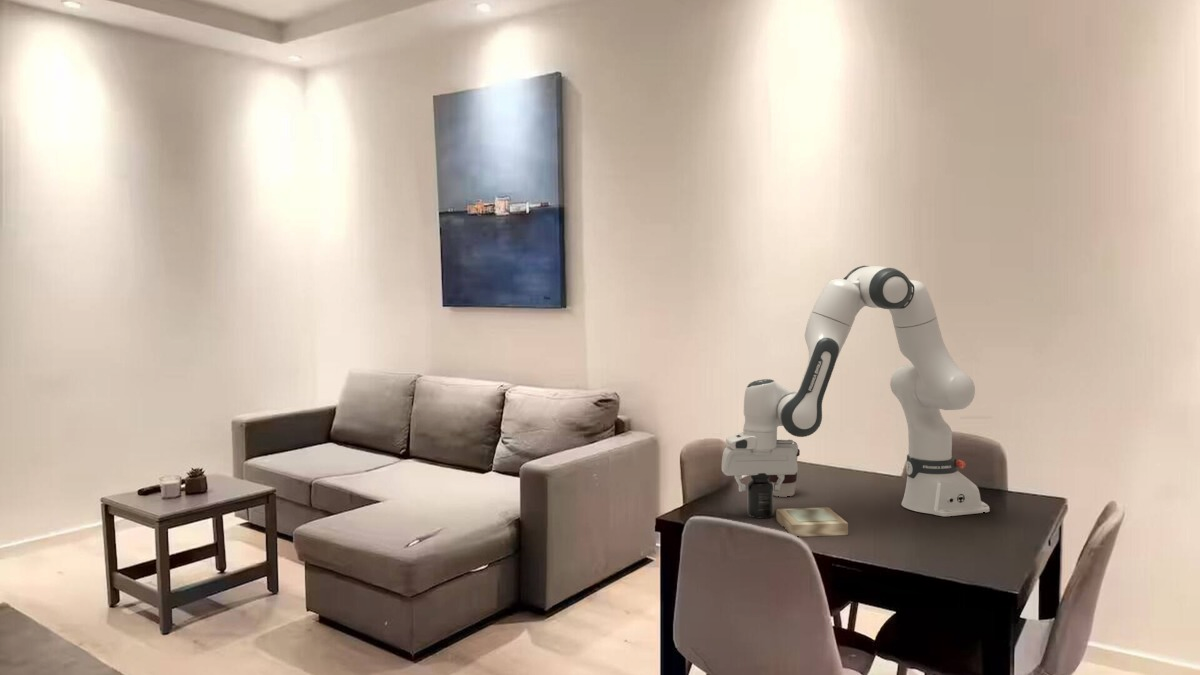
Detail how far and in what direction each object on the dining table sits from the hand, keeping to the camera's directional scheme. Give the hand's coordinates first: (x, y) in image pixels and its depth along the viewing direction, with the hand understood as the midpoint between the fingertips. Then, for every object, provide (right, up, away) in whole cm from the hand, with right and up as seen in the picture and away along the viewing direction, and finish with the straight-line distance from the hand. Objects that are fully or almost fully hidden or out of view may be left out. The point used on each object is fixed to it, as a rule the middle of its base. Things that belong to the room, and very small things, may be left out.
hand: (759, 490), depth 222 cm
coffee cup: (+11, -5, +22) cm, 25 cm away
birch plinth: (+11, -7, -10) cm, 17 cm away
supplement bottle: (0, -7, +1) cm, 7 cm away
